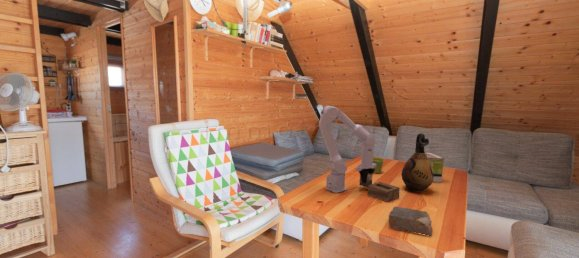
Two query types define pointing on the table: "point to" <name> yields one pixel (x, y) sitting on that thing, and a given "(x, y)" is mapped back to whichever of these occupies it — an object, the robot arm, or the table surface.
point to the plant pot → (378, 164)
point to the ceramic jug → (418, 168)
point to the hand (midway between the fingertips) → (365, 182)
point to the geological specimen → (410, 220)
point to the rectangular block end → (369, 180)
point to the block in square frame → (383, 191)
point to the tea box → (436, 166)
